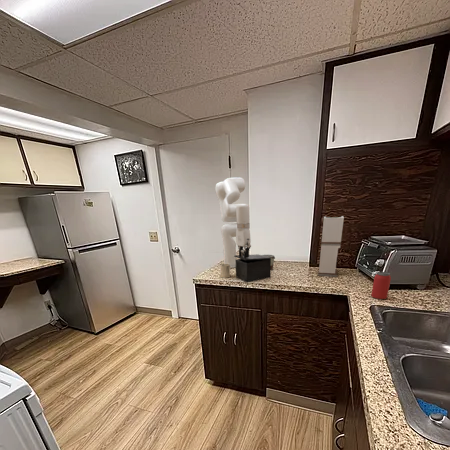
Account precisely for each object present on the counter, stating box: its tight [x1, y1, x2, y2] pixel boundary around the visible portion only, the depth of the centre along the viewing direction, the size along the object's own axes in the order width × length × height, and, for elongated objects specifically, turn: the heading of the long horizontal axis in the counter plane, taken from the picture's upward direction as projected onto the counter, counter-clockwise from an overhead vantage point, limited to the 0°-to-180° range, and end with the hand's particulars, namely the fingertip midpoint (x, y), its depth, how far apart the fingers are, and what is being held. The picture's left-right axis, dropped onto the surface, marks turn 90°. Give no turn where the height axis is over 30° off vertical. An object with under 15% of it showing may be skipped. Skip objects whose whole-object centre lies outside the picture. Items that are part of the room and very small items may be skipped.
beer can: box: [371, 271, 392, 300], centre depth 118 cm, size 7×7×12 cm
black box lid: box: [234, 250, 271, 260], centre depth 156 cm, size 19×14×5 cm
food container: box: [261, 254, 276, 271], centre depth 176 cm, size 12×6×10 cm, turn 84°
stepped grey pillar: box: [318, 215, 345, 278], centre depth 153 cm, size 11×11×35 cm
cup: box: [219, 263, 231, 279], centre depth 165 cm, size 6×6×8 cm
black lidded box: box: [235, 258, 272, 283], centre depth 159 cm, size 18×14×12 cm
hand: (243, 256), depth 153 cm, fingers closed on black box lid, 5 cm apart
